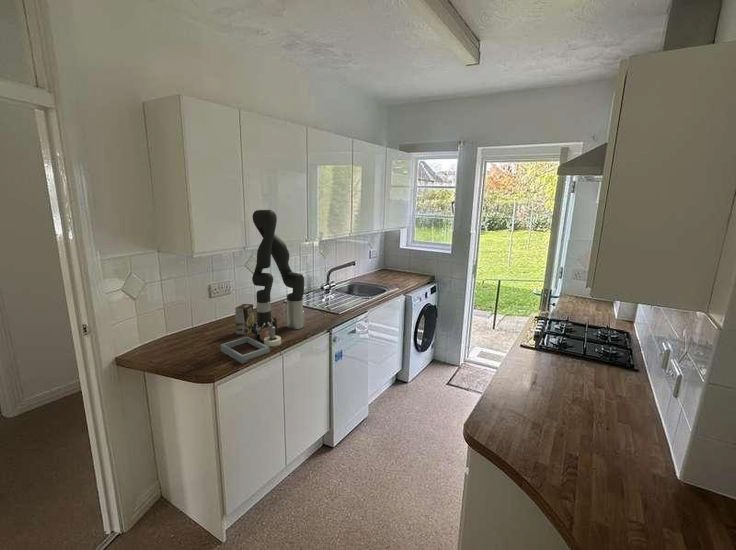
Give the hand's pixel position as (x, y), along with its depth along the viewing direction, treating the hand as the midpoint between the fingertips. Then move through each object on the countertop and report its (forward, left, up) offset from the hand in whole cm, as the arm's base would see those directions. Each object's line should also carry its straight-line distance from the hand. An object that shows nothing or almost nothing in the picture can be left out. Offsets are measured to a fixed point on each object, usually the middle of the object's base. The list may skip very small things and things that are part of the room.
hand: (264, 338), depth 194 cm
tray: (+15, +5, -2) cm, 16 cm away
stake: (0, +7, -2) cm, 7 cm away
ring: (0, +5, -1) cm, 5 cm away
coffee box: (+1, -18, -2) cm, 18 cm away
